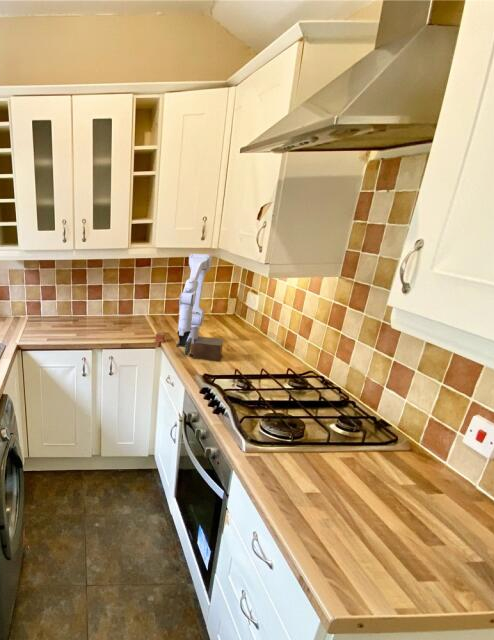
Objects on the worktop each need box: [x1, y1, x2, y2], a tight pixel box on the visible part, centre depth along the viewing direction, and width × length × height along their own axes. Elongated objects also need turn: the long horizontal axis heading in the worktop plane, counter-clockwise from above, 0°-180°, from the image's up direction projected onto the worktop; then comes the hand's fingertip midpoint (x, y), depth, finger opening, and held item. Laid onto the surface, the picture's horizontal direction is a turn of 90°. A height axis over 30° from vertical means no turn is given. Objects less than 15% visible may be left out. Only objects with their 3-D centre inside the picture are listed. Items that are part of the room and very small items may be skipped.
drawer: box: [175, 338, 196, 356], centre depth 194 cm, size 15×9×6 cm, turn 66°
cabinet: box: [192, 336, 224, 362], centre depth 192 cm, size 12×11×8 cm
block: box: [154, 331, 166, 343], centre depth 214 cm, size 4×4×4 cm
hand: (182, 346), depth 196 cm, fingers closed, pressing on drawer
